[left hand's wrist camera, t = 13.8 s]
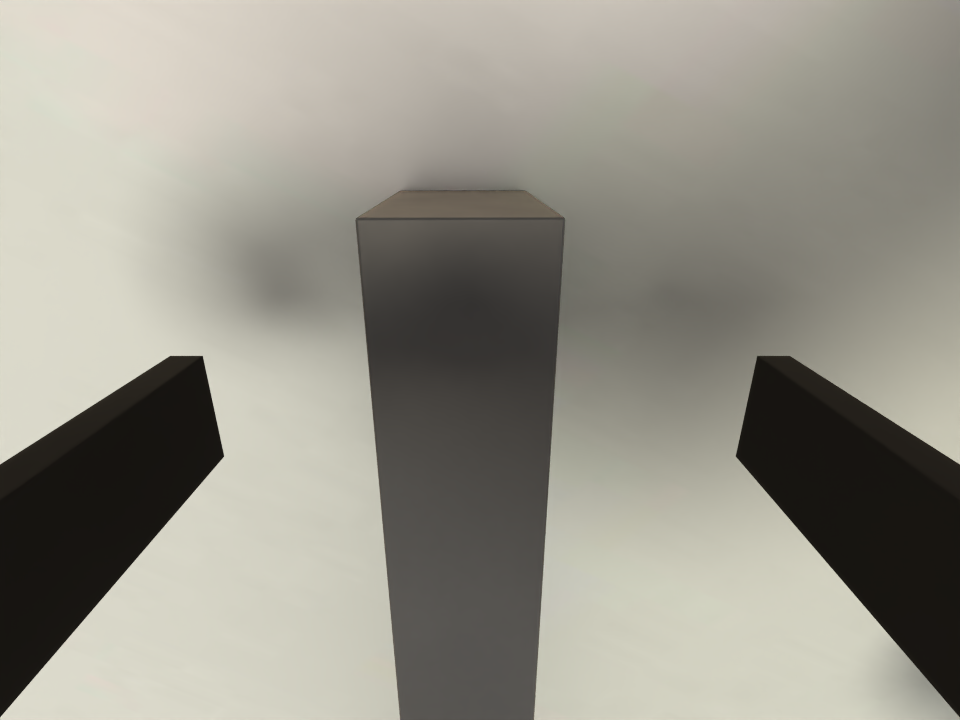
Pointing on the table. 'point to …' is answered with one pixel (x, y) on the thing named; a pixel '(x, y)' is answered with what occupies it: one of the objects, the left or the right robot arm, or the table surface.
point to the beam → (463, 438)
